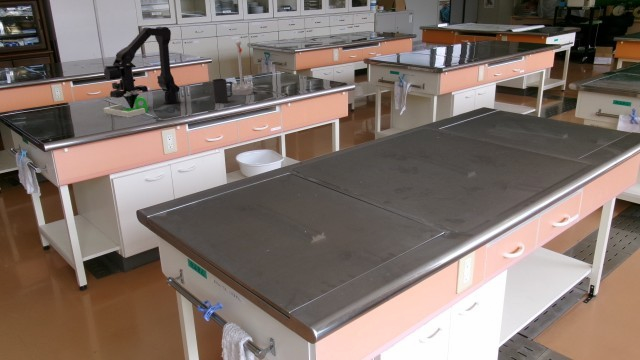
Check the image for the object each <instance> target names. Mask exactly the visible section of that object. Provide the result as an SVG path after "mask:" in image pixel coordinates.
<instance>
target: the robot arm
mask: <svg viewBox="0 0 640 360" xmlns="http://www.w3.org/2000/svg"><path fill="white" fill-rule="evenodd" d="M151 36H153V37H155V41H156V42H157V45H158V50H159V52H158V53H159V64H160V74H159V75H157V77H156V78H157V84H158V86H159V88H161V90H162V91H163V92H164V102H163V103H164V104H167V105H174V104H178V103H179V104H180V103H181V102H182V101H181V100H179V94H178V93H179V92H180V86H178V85H177V84H176V83H175V78H174V76H173V74H172V73H171V61H170V52H169V50H170V49H169V44H170V42H171V38H172V37H171V36H172V31H171V29H170V28H169V27H167V26H157V27H155V28H152V27H143V28H142V29H141V30H140V31H139V33H138V34H137V36H135V38H134V39H132V41H131V42H130V43H129V44H128V45H127V46H126V47H124V48H122V49H120V50H119V51H118V52H117V53H116V54H115V59H114V61H113V64H112V65H105V67H104V71H103V75H104V79H106V80H107V81H112V80H119V82H112V83H111V87H112V89H113V90H111V91H110V92H109V97H110V98H114V99H117V98H124V99H125V101H126V102H127V104H128V106H129V108H135V107H134V106H135V100H136V99H137V98H138V96H139V95H140V94H139V93H138V92H142V93H147V92H149V88H148V86H147V85H143V84H139V85H135V82H136V79H135V78H134V74H133V68H134V69H135V68H136V67H137V66H136V65H135V64H134V63H132V62H133V60H134V59H135V57H136V53H137V52H138V50H139V49H140V48H141V47H142V46H143V45H144V44H145V43H146V41H147V40H148V39H149V38H150V37H151Z"/></svg>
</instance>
